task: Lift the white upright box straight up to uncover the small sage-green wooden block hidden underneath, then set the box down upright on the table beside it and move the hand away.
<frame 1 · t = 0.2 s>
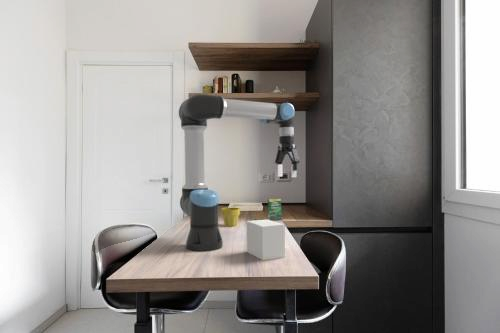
hand: (286, 176, 169), 28 cm above the worktop, tool pointing down, fingers open, 13 cm apart
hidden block: (265, 249, 124), in the white upright box
plant pot: (230, 226, 184), on the worktop
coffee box: (274, 220, 203), on the worktop
white upright box: (265, 254, 124), on the worktop
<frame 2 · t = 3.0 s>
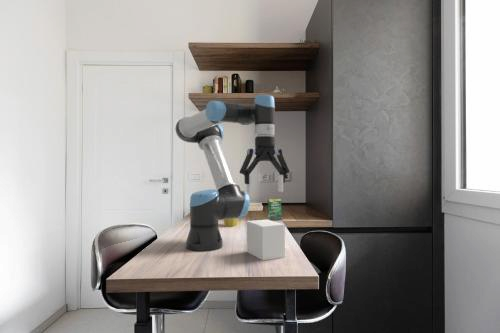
hand: (265, 192, 124), 24 cm above the worktop, tool pointing down, fingers open, 13 cm apart
nothing on the worktop moved.
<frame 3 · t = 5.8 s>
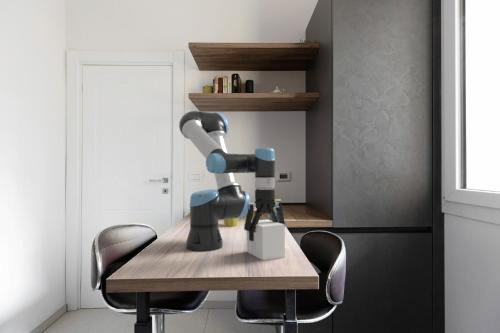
hand: (265, 247, 124), 3 cm above the worktop, tool pointing down, fingers closed on white upright box, 9 cm apart
white upright box: (265, 254, 124), on the worktop, touching gripper
everything else where it was.
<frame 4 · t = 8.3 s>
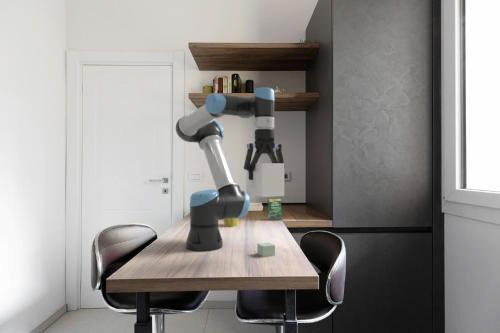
hand: (264, 188, 124), 25 cm above the worktop, tool pointing down, fingers closed on white upright box, 9 cm apart
white upright box: (264, 194, 124), point 23 cm above the worktop, touching gripper
everything else where it was.
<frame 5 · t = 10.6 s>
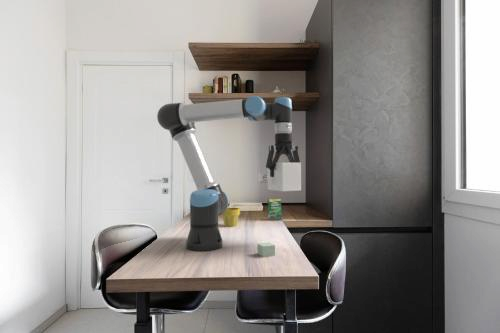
hand: (283, 184, 144), 26 cm above the worktop, tool pointing down, fingers closed on white upright box, 9 cm apart
white upright box: (283, 189, 144), point 23 cm above the worktop, touching gripper
everything else where it was.
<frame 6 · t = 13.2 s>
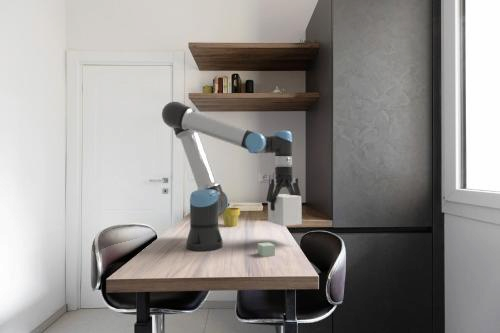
hand: (284, 217, 144), 11 cm above the worktop, tool pointing down, fingers closed on white upright box, 9 cm apart
white upright box: (284, 222, 144), point 9 cm above the worktop, touching gripper
everything else where it was.
when the fingers open (4 cm above the worktop, at t = 15.6 s): white upright box drops 1 cm, on the worktop.
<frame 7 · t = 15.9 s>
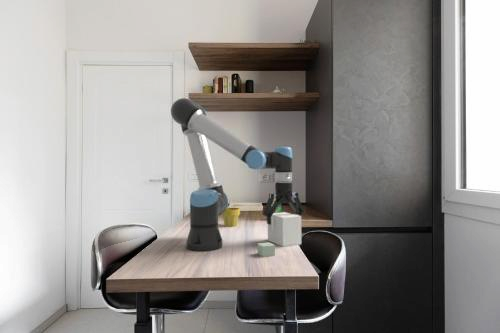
hand: (283, 230, 144), 5 cm above the worktop, tool pointing down, fingers open, 13 cm apart
white upright box: (284, 242, 144), on the worktop
everything else where it was.
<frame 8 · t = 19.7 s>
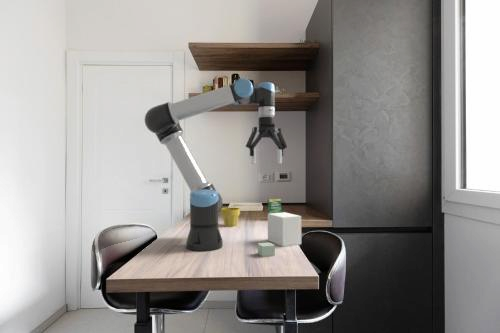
hand: (266, 163, 149), 35 cm above the worktop, tool pointing down, fingers open, 13 cm apart
nothing on the worktop moved.
at the end: white upright box inside the target area (0.1 cm from its centre), on the worktop; white upright box tilted 0°; the gripper is holding nothing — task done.
